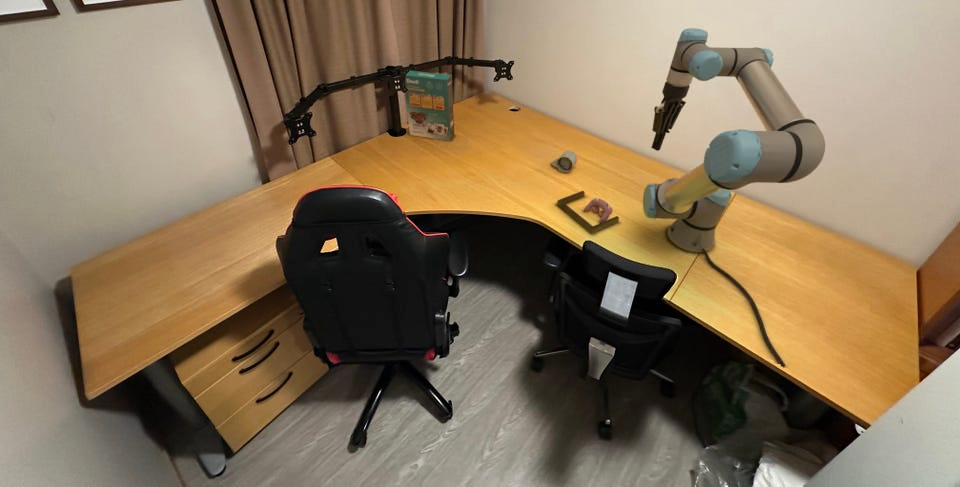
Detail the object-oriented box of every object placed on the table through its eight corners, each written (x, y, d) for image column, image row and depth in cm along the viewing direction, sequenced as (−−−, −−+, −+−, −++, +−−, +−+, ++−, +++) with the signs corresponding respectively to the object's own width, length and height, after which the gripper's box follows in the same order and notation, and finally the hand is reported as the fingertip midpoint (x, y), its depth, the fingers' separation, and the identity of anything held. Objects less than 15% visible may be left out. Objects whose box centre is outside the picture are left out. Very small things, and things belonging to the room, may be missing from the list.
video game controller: (607, 223, 152) (616, 207, 149) (601, 223, 149) (610, 207, 146) (588, 210, 158) (597, 195, 155) (582, 209, 155) (591, 194, 152)
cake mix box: (454, 135, 202) (451, 75, 181) (450, 140, 197) (447, 79, 177) (414, 129, 206) (407, 70, 186) (410, 134, 202) (402, 74, 182)
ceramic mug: (577, 165, 180) (579, 150, 175) (571, 174, 175) (573, 159, 170) (554, 160, 184) (556, 145, 179) (548, 168, 179) (550, 153, 174)
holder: (617, 222, 150) (619, 217, 149) (591, 234, 145) (592, 229, 144) (581, 195, 163) (583, 190, 162) (556, 205, 158) (557, 200, 157)
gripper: (681, 75, 132) (659, 140, 148) (654, 82, 127) (634, 148, 143) (701, 82, 127) (676, 148, 143) (673, 90, 122) (651, 158, 138)
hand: (655, 148), depth 143 cm, fingers closed
